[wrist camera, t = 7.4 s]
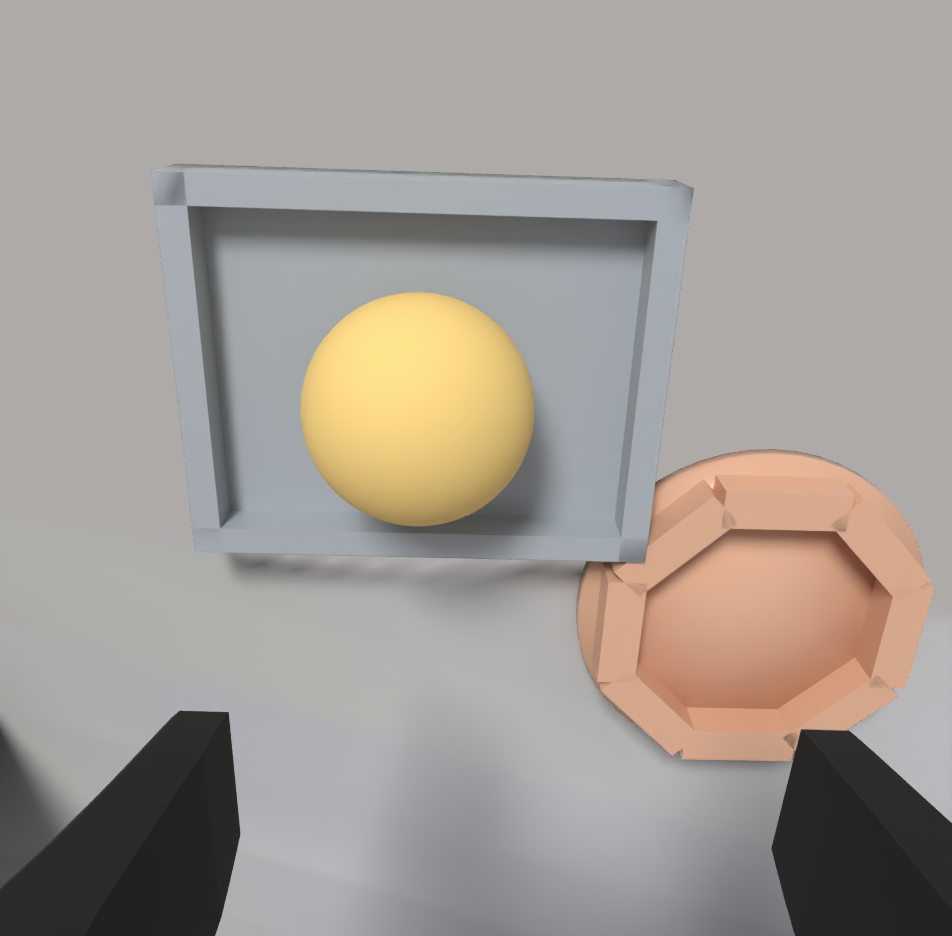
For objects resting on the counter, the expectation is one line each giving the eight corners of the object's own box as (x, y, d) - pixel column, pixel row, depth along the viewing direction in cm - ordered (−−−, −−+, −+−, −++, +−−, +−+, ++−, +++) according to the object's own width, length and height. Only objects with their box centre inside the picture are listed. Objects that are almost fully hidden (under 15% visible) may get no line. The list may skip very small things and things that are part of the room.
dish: (953, 454, 20) (987, 479, 18) (872, 738, 23) (896, 776, 22) (590, 444, 20) (599, 469, 18) (563, 732, 23) (569, 770, 22)
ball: (533, 272, 17) (550, 328, 13) (523, 470, 19) (536, 572, 15) (315, 269, 17) (266, 323, 13) (327, 467, 19) (287, 568, 15)
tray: (675, 180, 17) (693, 188, 16) (633, 530, 20) (644, 562, 19) (175, 164, 17) (150, 170, 16) (213, 520, 20) (195, 551, 19)
